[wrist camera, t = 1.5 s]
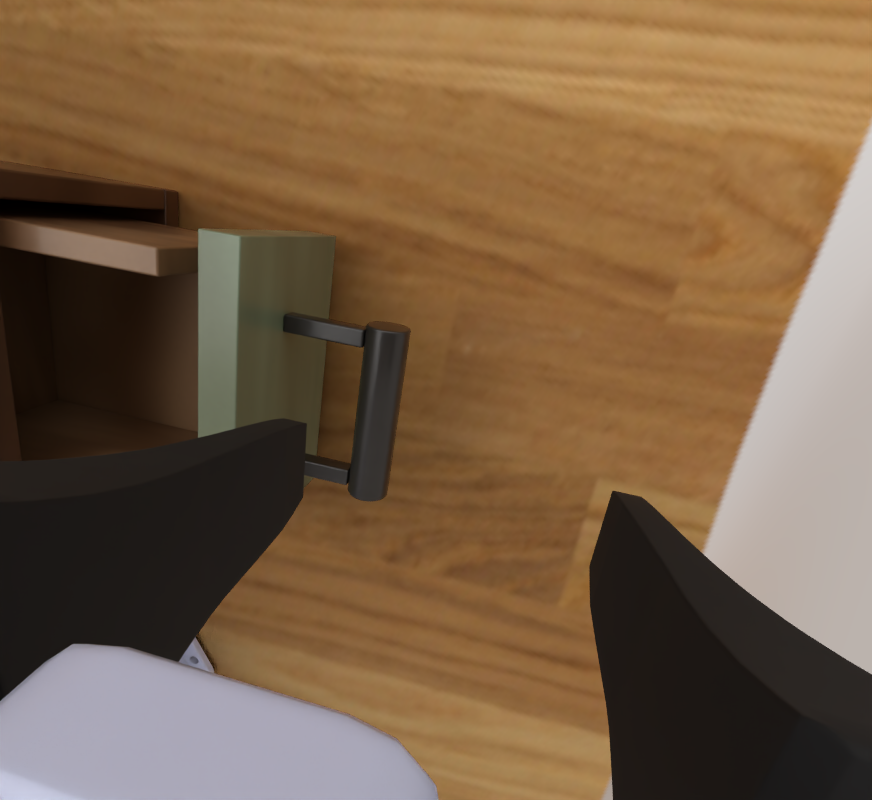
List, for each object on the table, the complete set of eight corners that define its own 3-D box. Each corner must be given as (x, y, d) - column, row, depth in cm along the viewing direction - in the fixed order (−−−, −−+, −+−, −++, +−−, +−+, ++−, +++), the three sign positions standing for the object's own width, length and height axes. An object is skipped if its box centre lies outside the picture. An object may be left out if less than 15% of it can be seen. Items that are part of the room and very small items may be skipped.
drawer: (441, 254, 19) (396, 263, 12) (403, 497, 22) (352, 602, 16) (45, 184, 20) (-172, 160, 14) (67, 418, 24) (-100, 484, 18)
